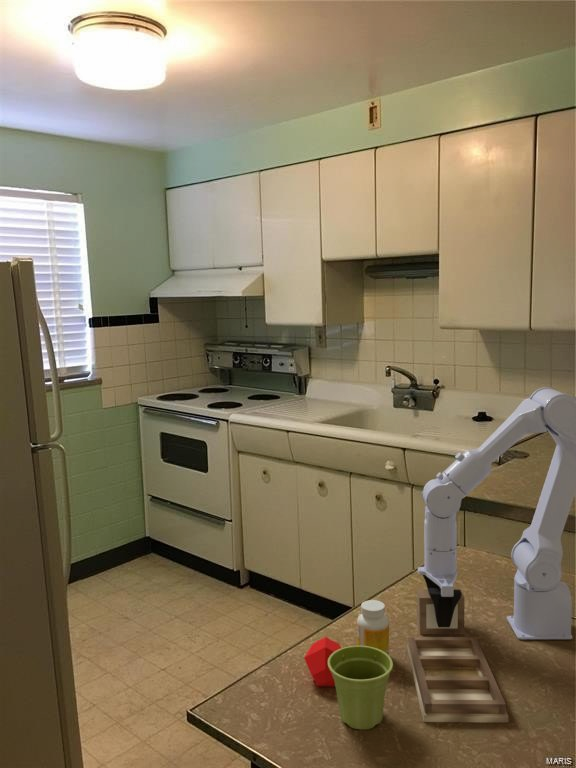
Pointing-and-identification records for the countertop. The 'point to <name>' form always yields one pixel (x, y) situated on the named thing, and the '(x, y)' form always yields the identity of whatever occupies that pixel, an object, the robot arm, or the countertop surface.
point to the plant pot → (360, 684)
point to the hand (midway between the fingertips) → (440, 616)
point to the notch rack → (454, 681)
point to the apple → (321, 661)
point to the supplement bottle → (373, 626)
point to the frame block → (428, 618)
